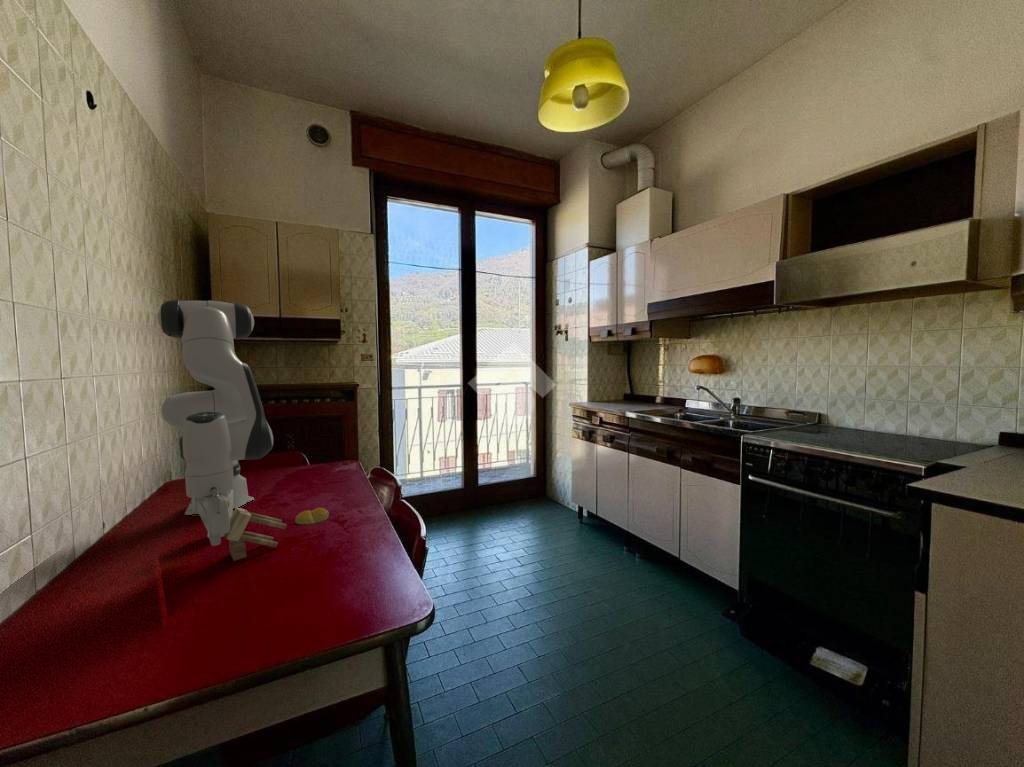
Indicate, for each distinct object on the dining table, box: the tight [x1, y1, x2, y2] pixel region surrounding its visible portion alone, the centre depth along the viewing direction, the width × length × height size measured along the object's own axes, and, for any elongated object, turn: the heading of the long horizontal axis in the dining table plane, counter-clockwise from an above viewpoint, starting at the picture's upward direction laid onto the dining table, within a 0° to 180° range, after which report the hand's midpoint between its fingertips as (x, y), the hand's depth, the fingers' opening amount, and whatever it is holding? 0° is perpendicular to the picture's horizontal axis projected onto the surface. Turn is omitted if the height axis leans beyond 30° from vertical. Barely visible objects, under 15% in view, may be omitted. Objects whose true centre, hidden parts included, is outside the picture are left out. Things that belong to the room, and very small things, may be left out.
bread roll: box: [294, 507, 330, 525], centre depth 120 cm, size 8×9×4 cm
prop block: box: [228, 540, 247, 561], centre depth 98 cm, size 5×2×3 cm, turn 43°
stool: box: [224, 507, 287, 548], centre depth 100 cm, size 6×6×11 cm
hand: (215, 543), depth 95 cm, fingers closed
